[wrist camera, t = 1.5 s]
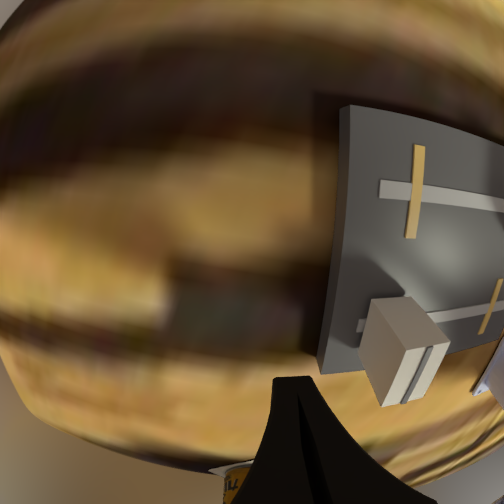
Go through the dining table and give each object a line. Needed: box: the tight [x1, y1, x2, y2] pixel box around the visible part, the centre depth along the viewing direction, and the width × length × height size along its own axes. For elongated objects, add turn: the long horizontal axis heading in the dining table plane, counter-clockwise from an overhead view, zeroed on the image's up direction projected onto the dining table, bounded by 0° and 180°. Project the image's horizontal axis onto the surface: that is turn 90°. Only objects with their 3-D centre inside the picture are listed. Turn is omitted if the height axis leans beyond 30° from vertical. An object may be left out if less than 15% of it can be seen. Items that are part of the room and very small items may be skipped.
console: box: [316, 105, 504, 375], centre depth 13 cm, size 16×14×2 cm
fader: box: [358, 296, 451, 407], centre depth 11 cm, size 2×4×4 cm
